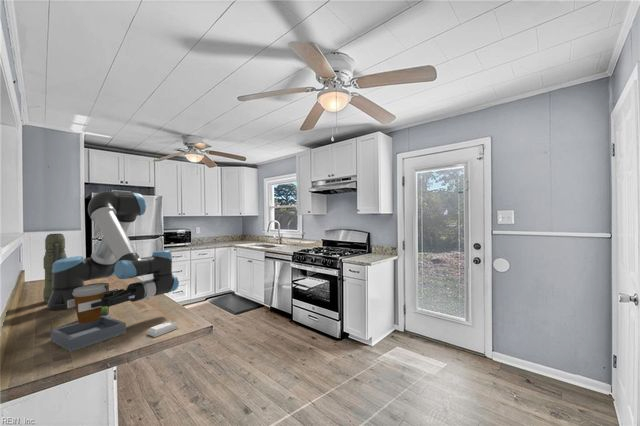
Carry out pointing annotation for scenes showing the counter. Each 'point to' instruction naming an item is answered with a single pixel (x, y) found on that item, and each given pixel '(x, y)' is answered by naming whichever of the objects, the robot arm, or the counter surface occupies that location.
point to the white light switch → (162, 329)
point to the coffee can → (105, 309)
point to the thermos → (52, 260)
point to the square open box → (87, 333)
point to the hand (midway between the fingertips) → (73, 306)
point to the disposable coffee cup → (88, 295)
